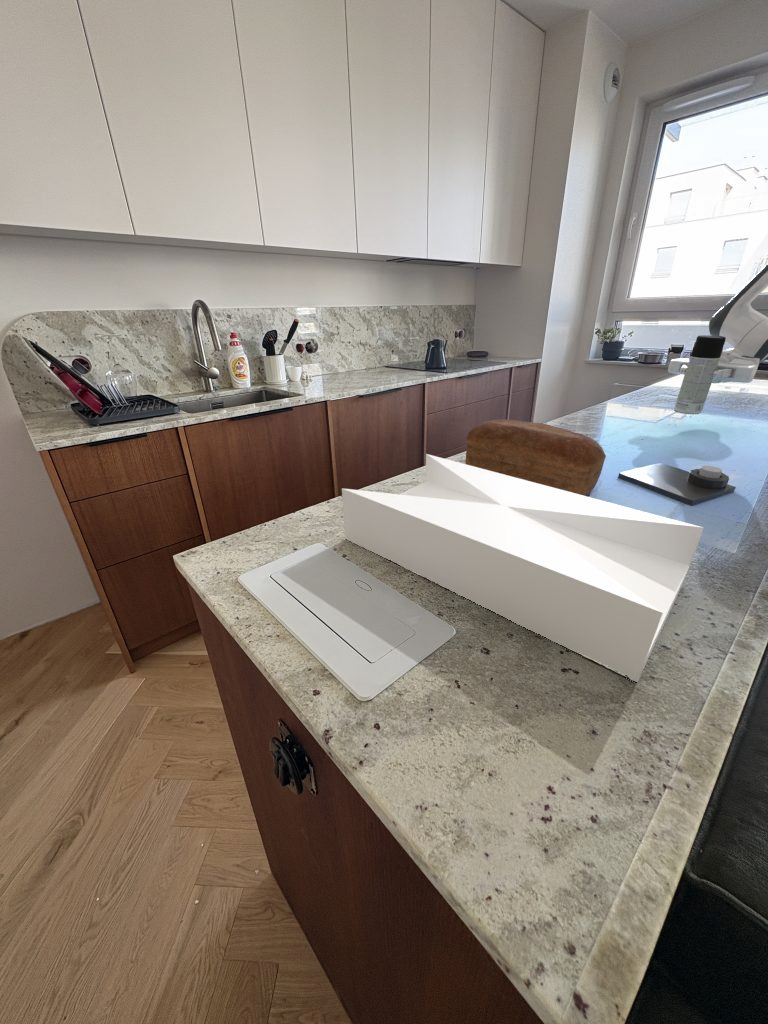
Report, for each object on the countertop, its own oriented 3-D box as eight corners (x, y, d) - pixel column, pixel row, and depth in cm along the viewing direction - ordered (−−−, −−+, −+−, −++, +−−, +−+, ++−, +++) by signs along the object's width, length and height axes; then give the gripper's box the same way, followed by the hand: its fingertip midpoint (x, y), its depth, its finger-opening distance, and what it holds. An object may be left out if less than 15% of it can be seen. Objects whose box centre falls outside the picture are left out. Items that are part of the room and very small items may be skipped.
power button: (723, 477, 86) (726, 469, 85) (712, 480, 84) (715, 472, 84) (704, 472, 89) (707, 464, 88) (694, 475, 87) (697, 467, 87)
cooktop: (734, 492, 86) (740, 478, 84) (691, 506, 80) (696, 491, 79) (659, 467, 99) (663, 454, 97) (617, 477, 93) (620, 465, 92)
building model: (345, 539, 71) (341, 488, 67) (424, 497, 86) (426, 453, 81) (637, 683, 44) (662, 612, 40) (681, 586, 58) (704, 526, 54)
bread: (487, 458, 106) (492, 409, 100) (604, 488, 88) (618, 431, 83) (455, 473, 97) (458, 421, 91) (578, 510, 79) (591, 448, 74)
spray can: (699, 410, 121) (723, 335, 112) (703, 416, 116) (730, 337, 106) (672, 408, 123) (694, 334, 114) (675, 413, 118) (698, 337, 109)
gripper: (683, 352, 127) (661, 356, 120) (767, 358, 112) (748, 364, 105) (677, 373, 130) (655, 379, 123) (758, 383, 115) (739, 389, 108)
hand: (699, 372), depth 114 cm, fingers closed on spray can, 6 cm apart
